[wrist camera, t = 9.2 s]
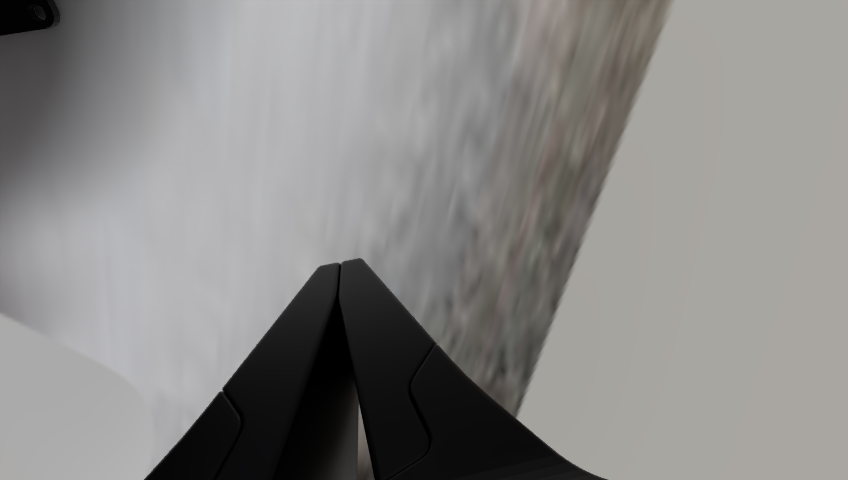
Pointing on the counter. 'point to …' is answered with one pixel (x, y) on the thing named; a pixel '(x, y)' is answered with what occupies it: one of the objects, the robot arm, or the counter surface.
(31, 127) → the counter surface
